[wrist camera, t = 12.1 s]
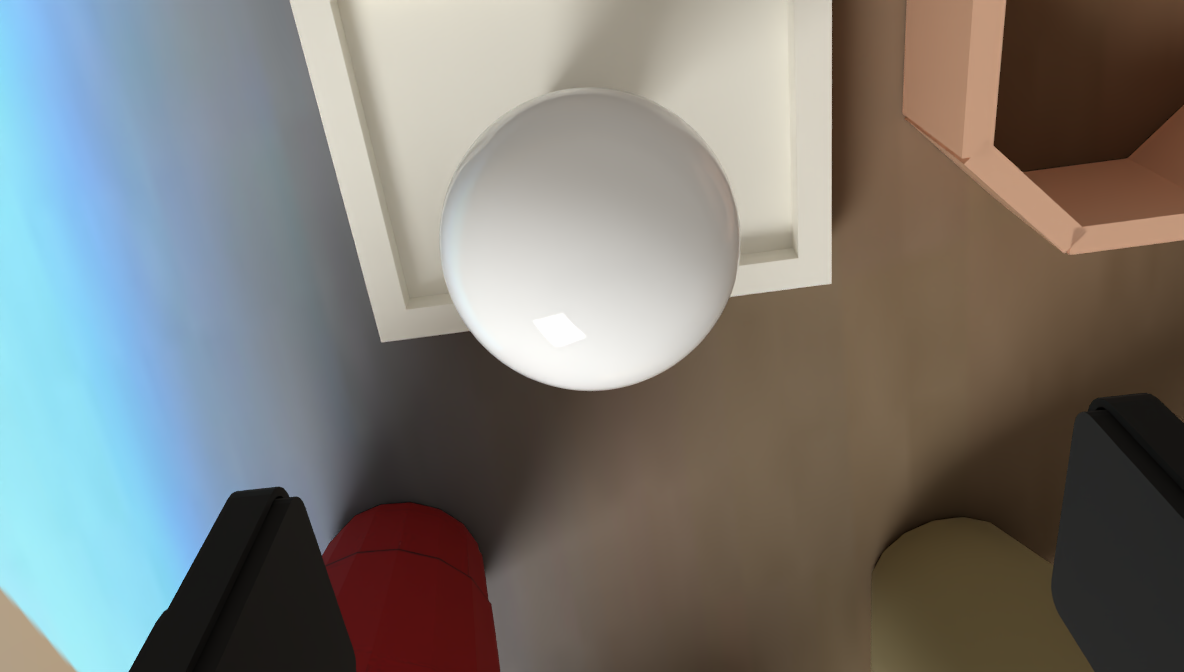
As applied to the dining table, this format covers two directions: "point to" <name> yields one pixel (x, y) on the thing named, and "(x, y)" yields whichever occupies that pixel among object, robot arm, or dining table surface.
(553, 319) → the lightbulb
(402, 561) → the plastic cup
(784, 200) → the tray
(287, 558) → the robot arm
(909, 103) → the terracotta octagonal ring
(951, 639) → the squeeze bottle
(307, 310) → the dining table surface
